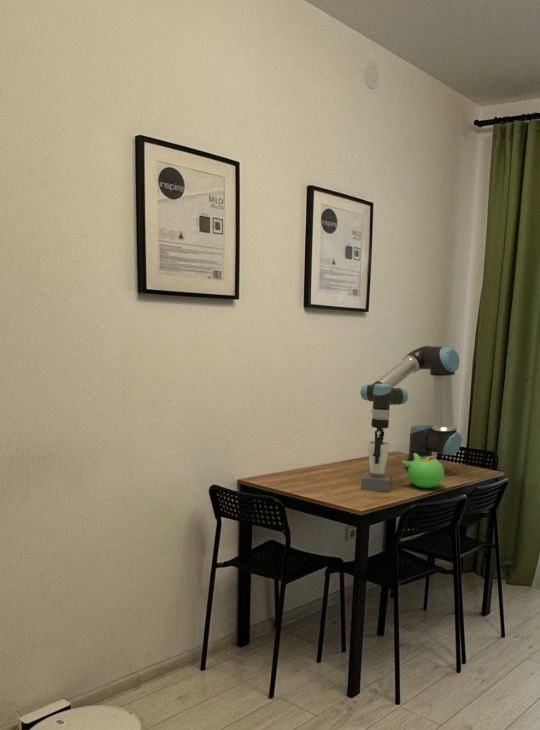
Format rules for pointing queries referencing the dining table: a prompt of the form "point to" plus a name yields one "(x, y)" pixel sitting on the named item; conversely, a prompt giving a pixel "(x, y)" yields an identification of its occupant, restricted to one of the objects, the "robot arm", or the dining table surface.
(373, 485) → the base plinth
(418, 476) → the toy bird
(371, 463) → the foam cup
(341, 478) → the dining table surface
